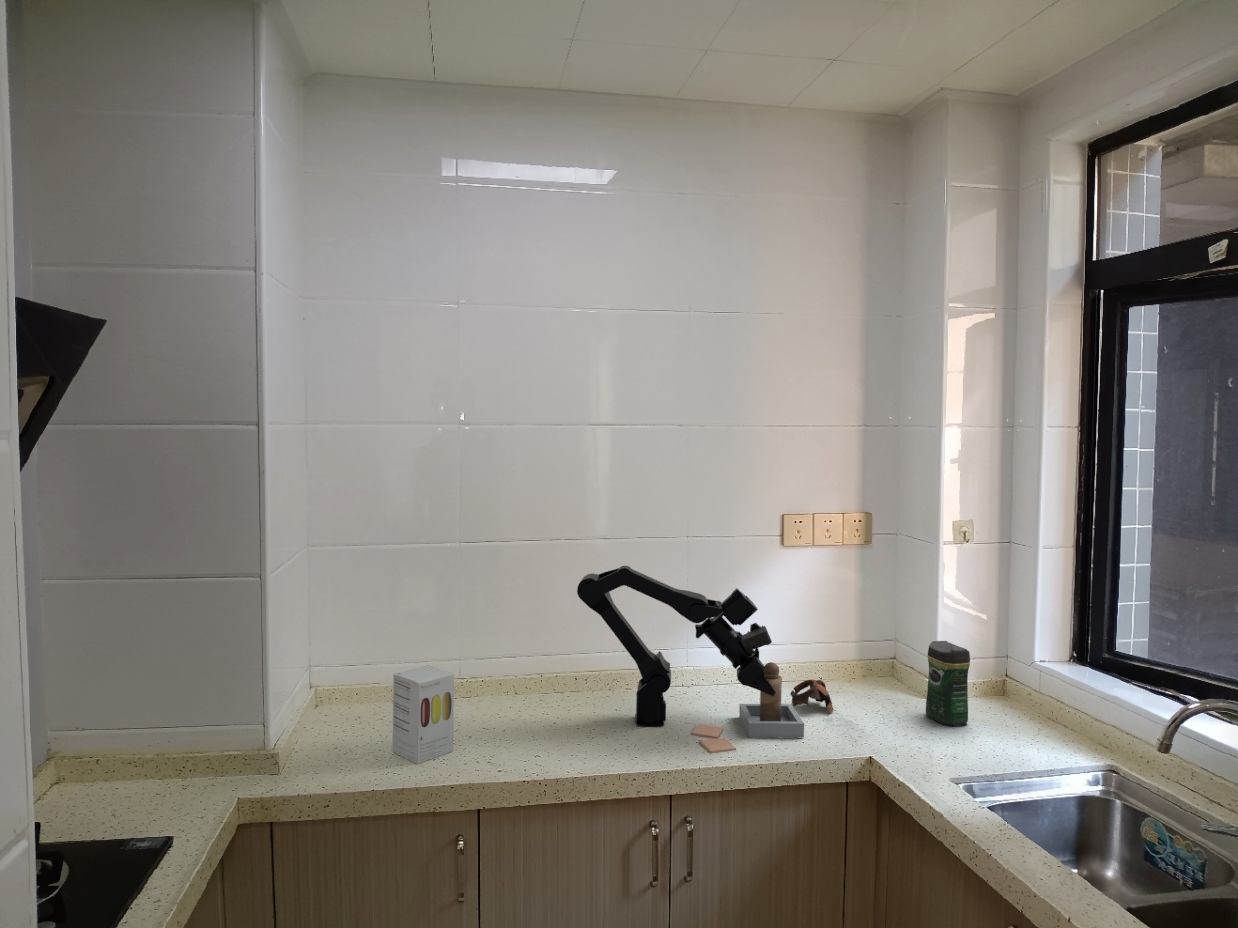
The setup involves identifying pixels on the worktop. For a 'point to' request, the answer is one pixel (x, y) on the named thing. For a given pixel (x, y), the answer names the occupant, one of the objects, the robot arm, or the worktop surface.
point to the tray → (771, 722)
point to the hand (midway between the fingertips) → (772, 687)
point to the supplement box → (423, 713)
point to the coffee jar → (948, 683)
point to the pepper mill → (768, 703)
